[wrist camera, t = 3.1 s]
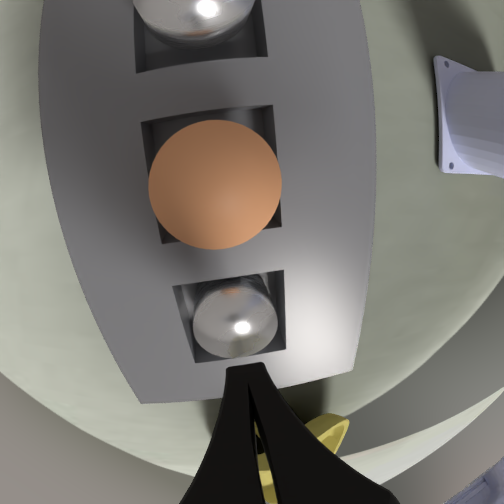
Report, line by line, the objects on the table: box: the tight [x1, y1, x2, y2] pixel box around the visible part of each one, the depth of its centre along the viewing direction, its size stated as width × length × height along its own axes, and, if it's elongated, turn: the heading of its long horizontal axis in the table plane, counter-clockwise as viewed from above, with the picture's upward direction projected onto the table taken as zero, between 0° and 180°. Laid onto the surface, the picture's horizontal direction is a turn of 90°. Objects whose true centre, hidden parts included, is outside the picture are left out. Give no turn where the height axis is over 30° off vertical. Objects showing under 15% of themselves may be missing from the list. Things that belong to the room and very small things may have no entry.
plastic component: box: [255, 413, 349, 504], centre depth 23 cm, size 20×7×10 cm
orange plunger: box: [148, 120, 282, 250], centre depth 9 cm, size 4×4×2 cm
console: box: [38, 0, 376, 404], centre depth 12 cm, size 14×26×3 cm, turn 5°
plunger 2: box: [193, 274, 278, 358], centre depth 14 cm, size 4×4×2 cm
